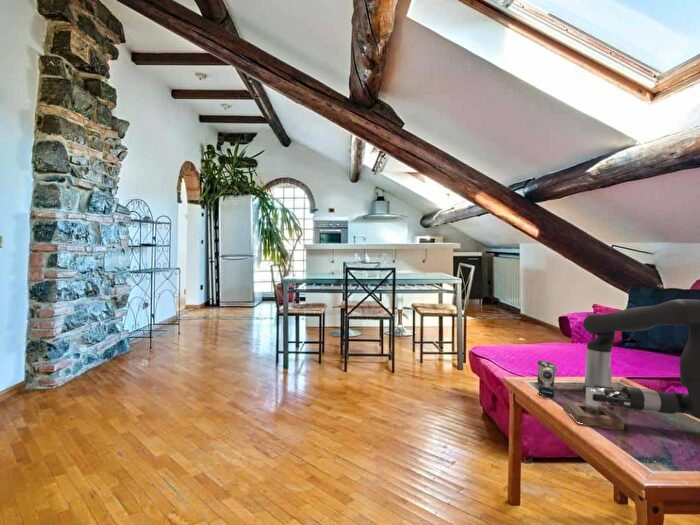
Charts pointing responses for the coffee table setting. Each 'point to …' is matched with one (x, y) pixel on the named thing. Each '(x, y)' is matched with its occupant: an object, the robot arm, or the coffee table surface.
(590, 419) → the walnut socket block
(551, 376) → the watch
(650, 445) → the coffee table surface
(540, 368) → the food container
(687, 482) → the coffee table surface
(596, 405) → the ribbed metal cylinder
